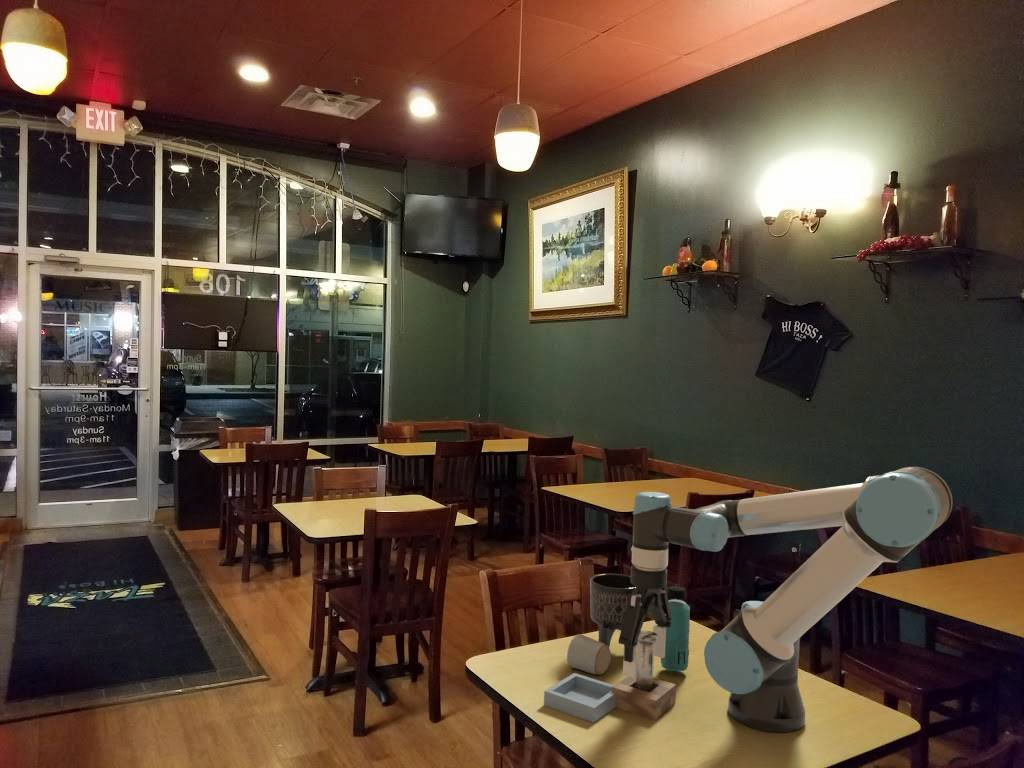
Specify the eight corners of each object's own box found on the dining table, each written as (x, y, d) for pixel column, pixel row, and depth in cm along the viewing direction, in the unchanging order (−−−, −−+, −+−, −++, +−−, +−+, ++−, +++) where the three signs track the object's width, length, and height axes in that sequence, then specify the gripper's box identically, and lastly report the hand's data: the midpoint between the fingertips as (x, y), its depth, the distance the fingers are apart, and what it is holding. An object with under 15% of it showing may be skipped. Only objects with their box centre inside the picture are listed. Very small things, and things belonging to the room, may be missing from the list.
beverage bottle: (676, 680, 175) (680, 593, 174) (653, 670, 180) (657, 586, 179) (694, 673, 179) (697, 588, 178) (671, 664, 184) (674, 581, 183)
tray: (622, 702, 163) (622, 688, 162) (593, 722, 153) (594, 708, 153) (573, 686, 170) (574, 672, 169) (543, 705, 160) (544, 690, 160)
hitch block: (675, 703, 163) (676, 684, 163) (654, 720, 155) (655, 700, 155) (633, 689, 169) (633, 671, 169) (611, 705, 161) (611, 686, 161)
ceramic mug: (596, 680, 173) (598, 647, 173) (565, 671, 178) (567, 638, 177) (618, 667, 182) (620, 635, 181) (588, 658, 186) (589, 626, 186)
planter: (627, 666, 182) (630, 592, 181) (578, 653, 189) (581, 582, 188) (647, 649, 193) (650, 579, 192) (601, 637, 200) (603, 570, 199)
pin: (658, 703, 162) (661, 634, 162) (648, 711, 159) (651, 640, 158) (638, 697, 165) (641, 628, 165) (628, 704, 161) (631, 634, 161)
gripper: (658, 551, 173) (653, 644, 174) (604, 575, 153) (599, 679, 154) (689, 558, 169) (684, 653, 170) (638, 583, 149) (633, 690, 149)
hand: (644, 665), depth 162 cm, fingers open, 13 cm apart
